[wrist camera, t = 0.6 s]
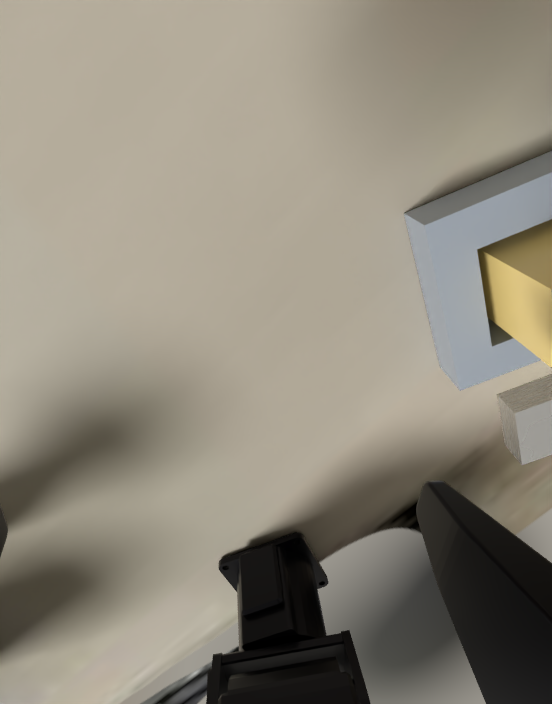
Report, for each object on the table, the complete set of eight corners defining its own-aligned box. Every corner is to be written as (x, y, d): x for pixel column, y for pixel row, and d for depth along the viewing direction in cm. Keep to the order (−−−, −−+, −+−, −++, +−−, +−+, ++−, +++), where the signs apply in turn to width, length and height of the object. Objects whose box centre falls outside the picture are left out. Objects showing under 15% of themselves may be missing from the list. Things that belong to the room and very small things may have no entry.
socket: (601, 304, 24) (637, 323, 22) (440, 367, 25) (459, 390, 23) (602, 129, 19) (647, 131, 17) (404, 213, 20) (424, 225, 18)
